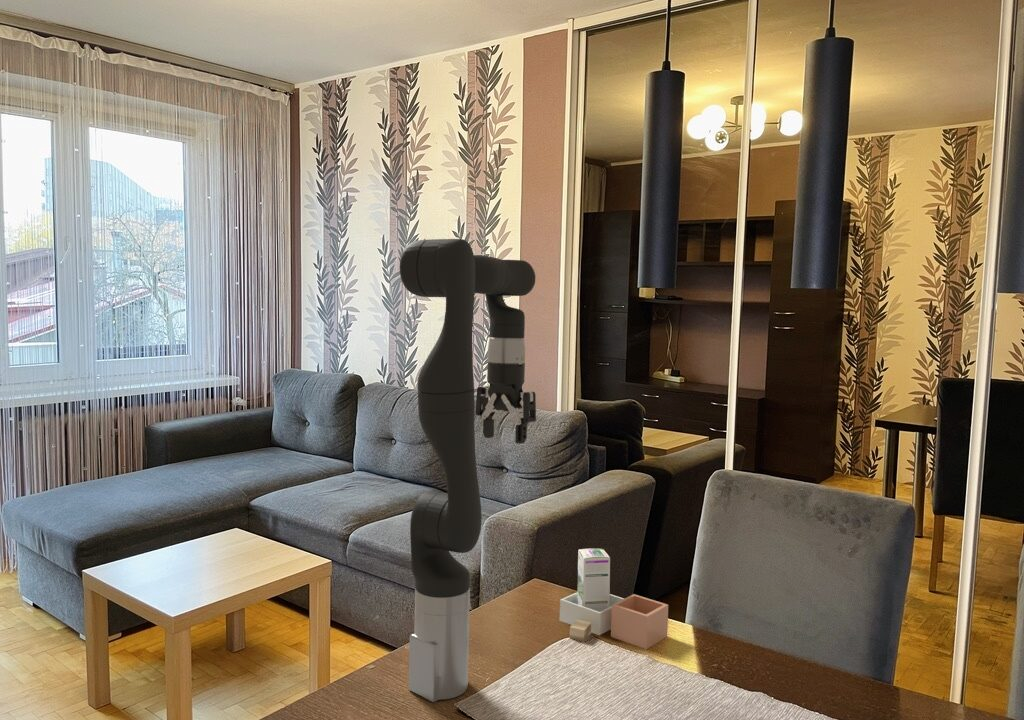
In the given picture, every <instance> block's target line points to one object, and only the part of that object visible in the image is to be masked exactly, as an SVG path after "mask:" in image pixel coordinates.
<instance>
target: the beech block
mask: <svg viewBox="0 0 1024 720" xmlns="http://www.w3.org/2000/svg"><path fill="white" fill-rule="evenodd" d="M591 635H592V632H591V623H590V622H585V621H581V620H576V621H575V622H574V623H573V624H572V625H570V626H569V639H571V640H574V639H576V640H575V641H578V640H580V641H579V642H583V641H584V642H585V641H586V640H587V639H588V638H589V637H590V636H591Z"/></svg>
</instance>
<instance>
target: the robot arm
mask: <svg viewBox="0 0 1024 720" xmlns="http://www.w3.org/2000/svg"><path fill="white" fill-rule="evenodd" d="M473 251H474V250H473V248H472V246H471V245H470V243H469V242H468V241H467V240H465V239H463V238H441V239H440V238H437V239H436V238H433V239H432V238H431V239H419V240H416V241H413V242H410V243H409V244H408V245H406V247H405V248H404V250H402V253H401V256H400V260H399V275H400V280H401V282H402V284H403V286H404V288H405V289H406V290H407V292H409V293H410V294H413V295H415V296H417V297H423V298H445V312H444V319H443V320H444V321H443V325H442V328H441V330H440V331H441V332H440V334H439V337H438V338H437V340H436V342H435V344H434V346H433V348H432V349H431V351H430V353H429V354H428V355H427V358H426V359H425V361H424V364H423V365H422V367H421V368H420V371H419V375H418V377H417V407H418V408H417V411H418V419H419V422H420V425H421V429H422V430H423V431H422V432H423V433H424V434H425V437H426V438H427V440H428V442H429V443H430V446H431V447H432V449H433V450H434V452H435V455H436V456H437V458H438V460H439V462H440V464H441V467H442V469H443V473H444V476H445V482H446V490H447V492H441V491H436V490H428V491H426V492H423V493H422V494H420V496H419V497H417V499H416V501H415V503H414V505H413V507H412V512H411V515H410V523H409V524H410V525H409V526H410V527H409V529H410V531H409V533H410V534H409V535H410V536H409V537H410V538H409V539H410V557H411V558H410V559H411V561H410V563H411V572H412V576H413V578H414V625H413V626H414V627H413V628H414V630H413V633H412V634H411V633H410V635H409V653H408V655H409V656H408V657H409V658H408V666H409V667H408V670H409V671H408V690H409V691H411V692H413V693H414V694H417V695H419V696H420V697H422V698H424V699H426V700H428V701H429V702H432V703H435V702H437V701H441V700H450V699H454V698H457V697H459V696H461V695H463V694H464V693H466V691H467V689H468V685H469V683H468V682H469V647H470V646H469V645H470V644H469V641H470V639H469V638H470V601H471V600H470V599H471V598H470V597H471V596H470V595H471V594H470V593H471V592H470V591H471V575H470V571H469V570H468V568H466V567H465V565H464V564H462V563H461V562H459V561H458V560H457V559H456V558H455V557H454V556H453V555H452V554H451V552H452V553H457V554H458V553H459V554H466V553H469V552H471V551H472V550H473V549H474V548H475V547H476V545H477V543H478V541H479V539H480V534H481V532H482V531H481V530H482V519H483V518H482V504H481V495H480V493H481V492H480V487H479V478H478V477H479V476H478V470H477V459H476V437H475V436H476V435H475V415H476V416H479V417H481V419H482V433H483V437H484V438H486V439H490V438H493V437H494V435H495V434H494V433H495V431H494V430H495V419H494V417H495V416H496V414H497V413H498V412H499V411H504V412H509V414H510V416H512V417H513V419H514V421H515V423H516V424H515V436H514V437H515V440H514V441H515V443H516V444H519V445H520V444H524V443H525V442H526V440H527V438H528V436H527V435H528V433H527V432H528V424H530V423H534V422H536V420H537V411H536V410H537V406H536V405H537V404H536V403H537V402H536V397H537V396H536V392H535V391H524V390H523V385H524V383H525V374H526V373H525V372H526V370H525V369H526V368H525V367H526V347H525V346H526V345H525V329H526V328H525V326H526V325H525V324H526V319H525V318H526V317H525V316H526V315H525V312H524V311H523V310H522V309H520V308H516V307H512V306H510V305H509V306H508V305H507V304H506V302H505V299H504V297H523V296H526V295H528V294H529V293H531V291H533V289H534V286H535V284H536V272H535V270H534V268H533V266H532V265H531V264H530V263H529V262H528V261H526V260H524V259H523V260H522V259H502V258H497V257H494V256H488V255H479V254H474V252H473ZM475 294H479V295H485V299H486V304H487V310H488V315H489V340H488V346H487V373H486V374H487V376H486V377H487V378H486V382H487V383H488V384H489V386H488V385H485V386H478V387H477V388H476V398H475V381H474V361H473V360H474V358H473V355H474V353H473V352H474V351H473V327H474V325H473V324H474V307H475ZM475 399H476V400H475Z"/></svg>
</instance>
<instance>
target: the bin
mask: <svg viewBox="0 0 1024 720" xmlns="http://www.w3.org/2000/svg"><path fill="white" fill-rule="evenodd" d="M623 599H625V598H623V597H620V596H618V595H614V594H611V593H610V603H609V608H607V609H605V610H603V611H601V612H598V611H595V610H592V609H589V608H586V607H584V606H581V605H578V604H577V591H576V592H575V593H572V594H570V595H568V596H566V597H565V596H564V597H563V598H561V599H559V618H558V619H559V622H562V623H563V624H564V623H565V624H568V625H570V626H571V625H572V624H573V623H574V622H575V621H576V620H581V621H585V622H590V623H591V634H595V635H598V636H601V635H602V634H604V633H607V632H609V631H611V616H612V605H613V604H615V603H617V602H619V601H621V600H623Z"/></svg>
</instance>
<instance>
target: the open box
mask: <svg viewBox="0 0 1024 720" xmlns="http://www.w3.org/2000/svg"><path fill="white" fill-rule="evenodd" d="M668 619H669V604H667V603H665V602H661V601H657V600H655V599H650V598H648V597H644V596H641V595H638V594H635V593H633V594H631V595H628V596H627V597H625V598H624V599H623V600H621V601H619V602H617V603H615V604H613V605H612V616H611V629H610V637H611V638H613V639H615V640H618V641H621V642H624V643H626V644H629V645H632V646H635V647H638V648H640V649H643V650H648V649H649V648H651V647H653V646H654V645H656V644H658V643H659V642H661V641H663V640H665V638H667V637H668V629H669V627H668V626H669V625H668V624H669V620H668Z"/></svg>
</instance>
